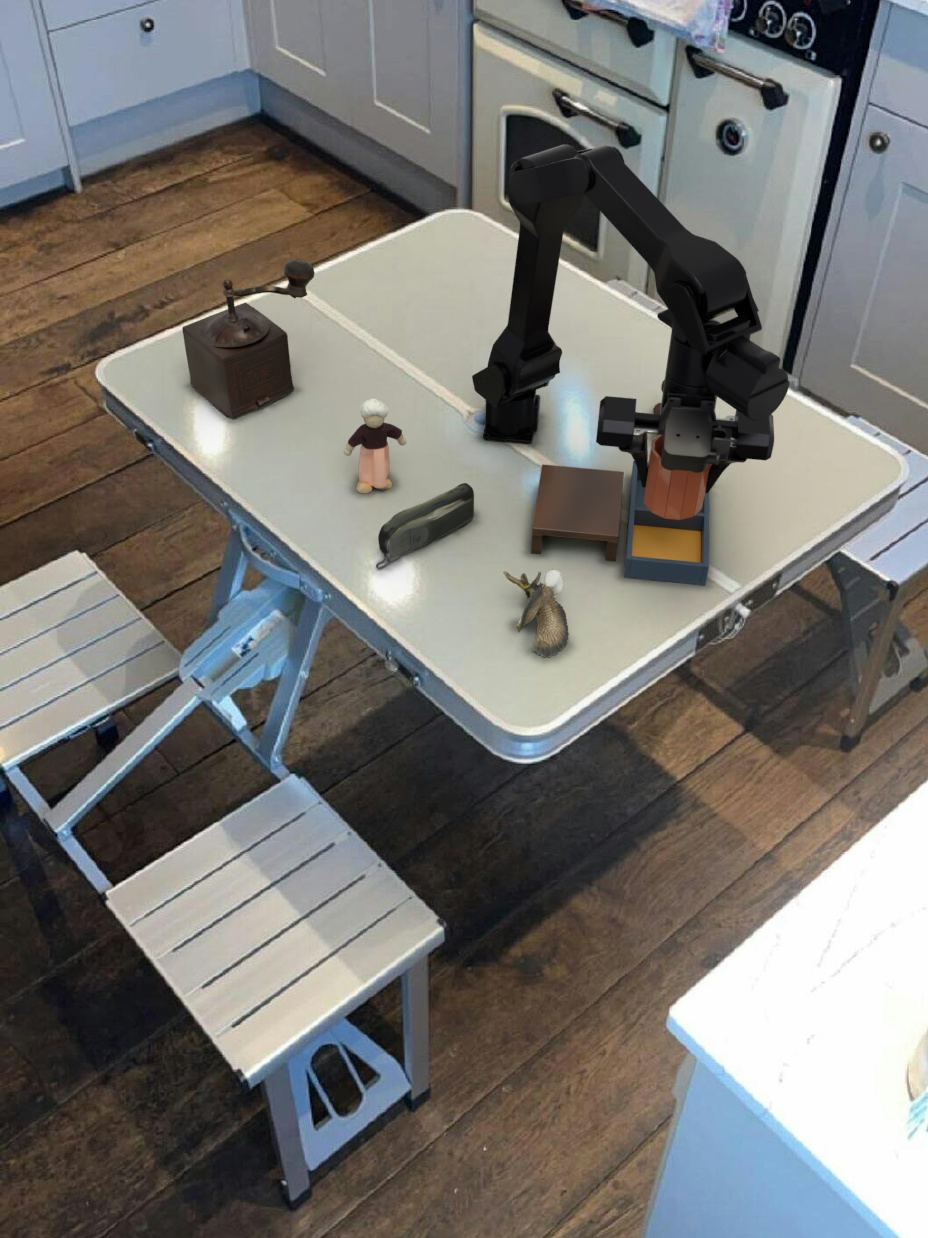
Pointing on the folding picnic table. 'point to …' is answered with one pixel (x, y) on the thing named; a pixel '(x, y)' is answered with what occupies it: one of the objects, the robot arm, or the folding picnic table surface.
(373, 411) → the grandmother figurine
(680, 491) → the cup
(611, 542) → the brown low table
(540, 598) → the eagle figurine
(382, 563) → the dark green rounded bar
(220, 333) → the coffee grinder
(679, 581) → the blue divided tray
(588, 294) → the folding picnic table surface
